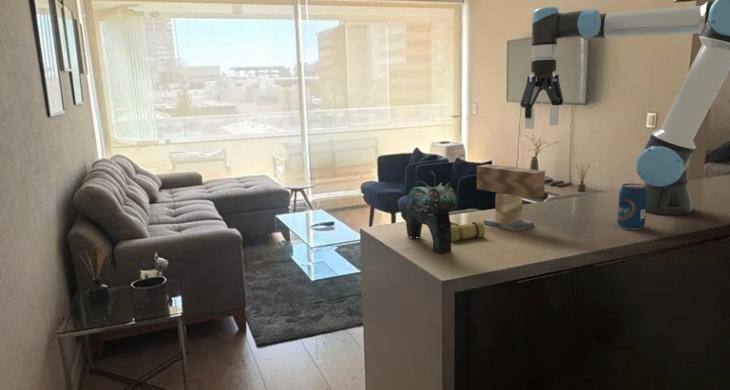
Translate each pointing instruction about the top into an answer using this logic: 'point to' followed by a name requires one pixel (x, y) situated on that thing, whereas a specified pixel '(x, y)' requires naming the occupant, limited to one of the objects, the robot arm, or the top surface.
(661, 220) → the top surface
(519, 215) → the fulcrum
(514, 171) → the walnut beam
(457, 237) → the gavel
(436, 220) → the ceramic cat
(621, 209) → the soda can
